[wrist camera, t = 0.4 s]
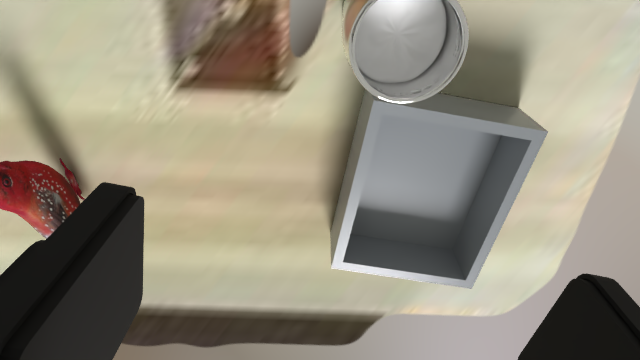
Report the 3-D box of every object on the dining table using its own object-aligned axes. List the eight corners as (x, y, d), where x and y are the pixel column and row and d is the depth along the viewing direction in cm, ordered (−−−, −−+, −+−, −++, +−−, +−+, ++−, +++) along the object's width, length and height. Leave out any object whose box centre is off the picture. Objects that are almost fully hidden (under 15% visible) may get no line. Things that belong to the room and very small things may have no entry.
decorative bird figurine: (54, 117, 41) (-20, 163, 32) (130, 255, 49) (87, 321, 40) (28, 123, 41) (-52, 169, 32) (107, 258, 49) (61, 325, 41)
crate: (367, 79, 38) (373, 100, 33) (518, 107, 40) (548, 131, 34) (330, 232, 47) (331, 268, 42) (455, 252, 48) (471, 288, 43)
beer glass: (331, 46, 37) (335, 99, 24) (344, -40, 34) (356, -35, 21) (407, 57, 37) (452, 114, 24) (427, -28, 34) (491, -14, 21)
